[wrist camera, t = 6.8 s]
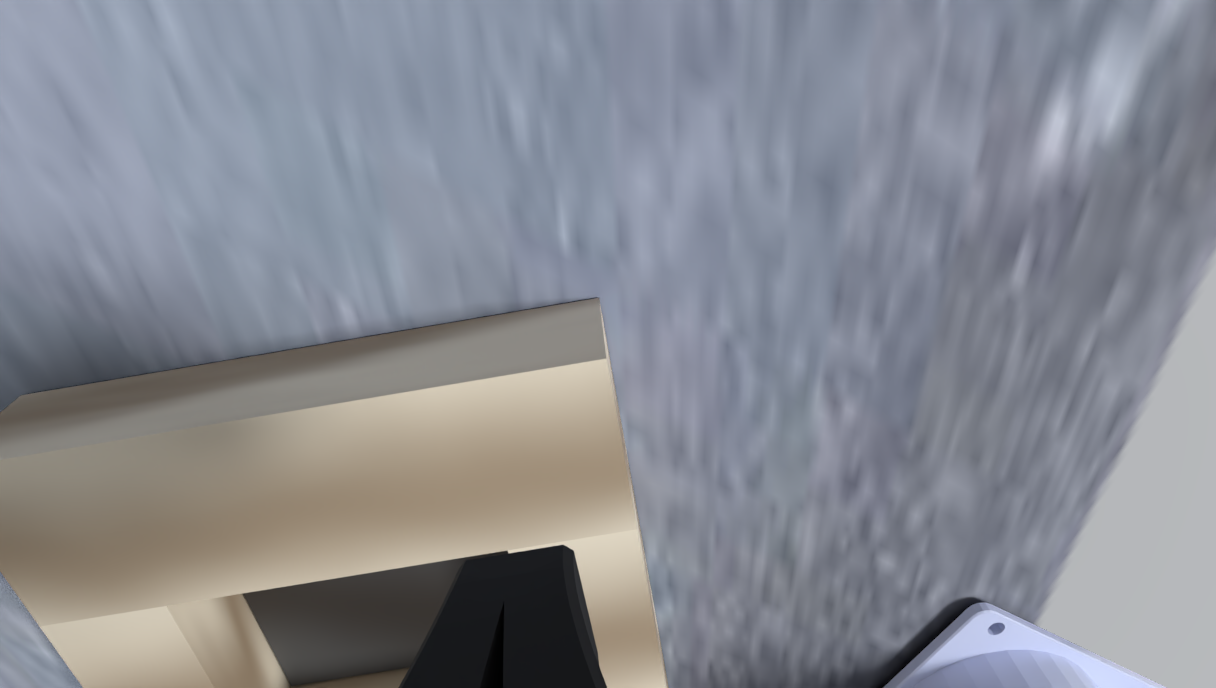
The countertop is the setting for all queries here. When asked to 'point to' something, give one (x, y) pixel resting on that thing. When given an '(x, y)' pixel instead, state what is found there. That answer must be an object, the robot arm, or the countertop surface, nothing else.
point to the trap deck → (321, 504)
